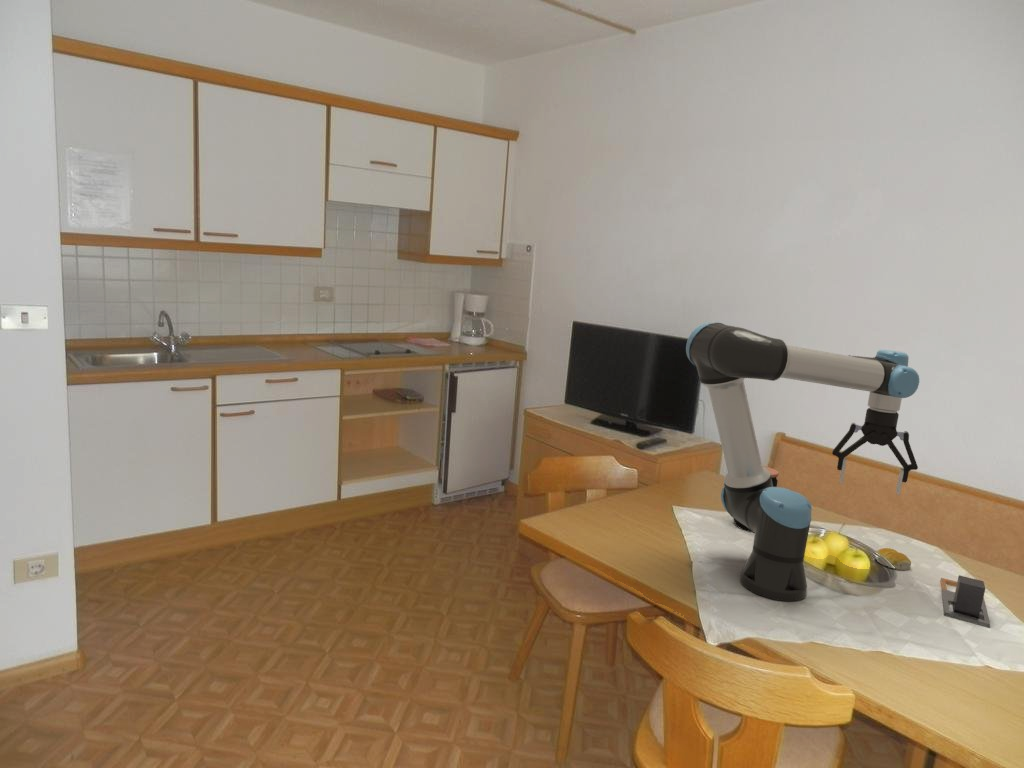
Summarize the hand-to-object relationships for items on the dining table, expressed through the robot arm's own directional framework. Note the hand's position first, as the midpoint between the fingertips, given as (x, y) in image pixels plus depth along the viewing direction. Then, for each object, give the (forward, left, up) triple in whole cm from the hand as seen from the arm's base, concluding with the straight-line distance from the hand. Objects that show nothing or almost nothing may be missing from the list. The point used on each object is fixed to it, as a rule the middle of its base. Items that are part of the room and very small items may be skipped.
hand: (868, 487), depth 189 cm
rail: (-8, -25, -22) cm, 34 cm away
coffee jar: (+10, +29, -22) cm, 38 cm away
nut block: (-15, -25, -22) cm, 36 cm away
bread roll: (+8, -9, -22) cm, 25 cm away
